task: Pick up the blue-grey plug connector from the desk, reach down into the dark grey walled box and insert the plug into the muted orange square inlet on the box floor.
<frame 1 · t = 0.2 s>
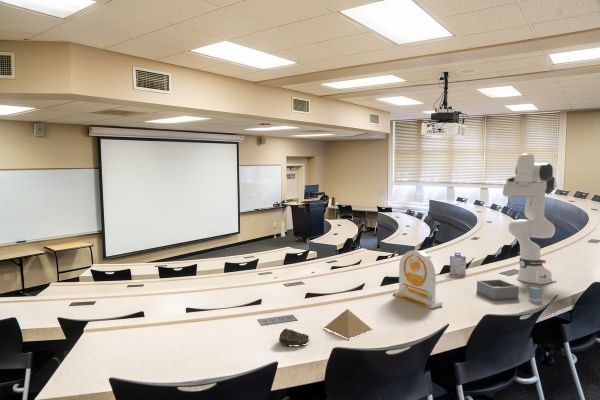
hand: (522, 204, 221), 52 cm above the table, tool tilted 20°, fingers open, 8 cm apart
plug: (534, 300, 215), on the table
model pyramid: (346, 330, 177), on the table
dark brown rock: (293, 344, 163), on the table
walled box: (497, 295, 223), on the table
award: (416, 300, 217), on the table
ink cartridge box: (457, 274, 272), on the table
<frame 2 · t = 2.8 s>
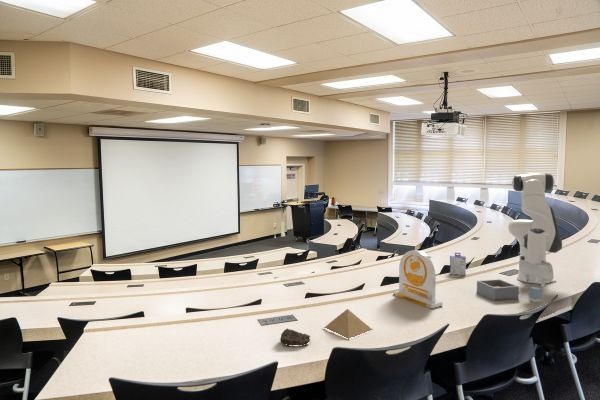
hand: (535, 284, 214), 9 cm above the table, tool pointing down, fingers open, 8 cm apart
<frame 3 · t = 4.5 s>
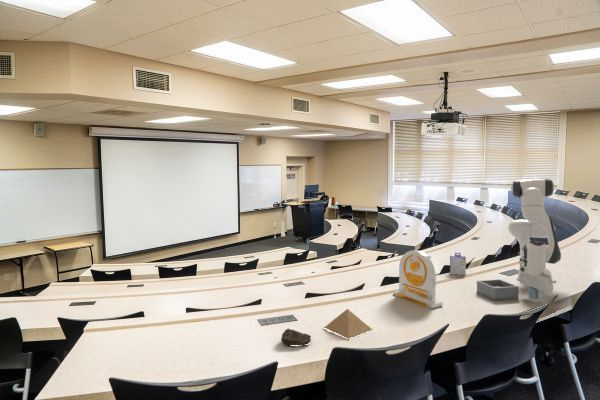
hand: (535, 295, 214), 3 cm above the table, tool pointing down, fingers closed on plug, 4 cm apart
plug: (534, 300, 215), on the table, touching gripper
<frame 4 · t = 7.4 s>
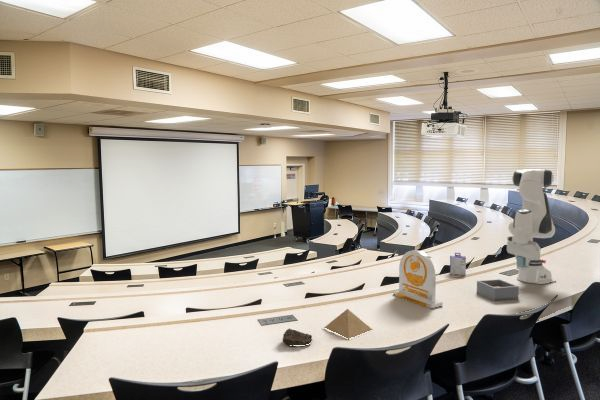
hand: (522, 264, 216), 19 cm above the table, tool pointing down, fingers closed on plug, 4 cm apart
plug: (522, 269, 216), point 17 cm above the table, touching gripper
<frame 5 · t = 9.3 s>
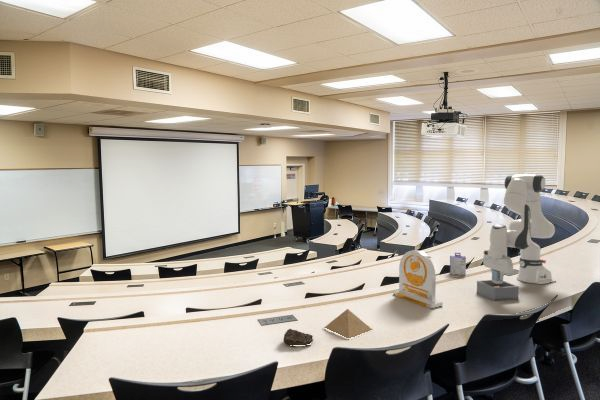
hand: (497, 278, 223), 10 cm above the table, tool pointing down, fingers closed on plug, 4 cm apart
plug: (497, 282, 223), point 8 cm above the table, touching gripper
when the fingers open (5 cm above the table, at t = 10.7 s): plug drops 1 cm, resting on walled box.
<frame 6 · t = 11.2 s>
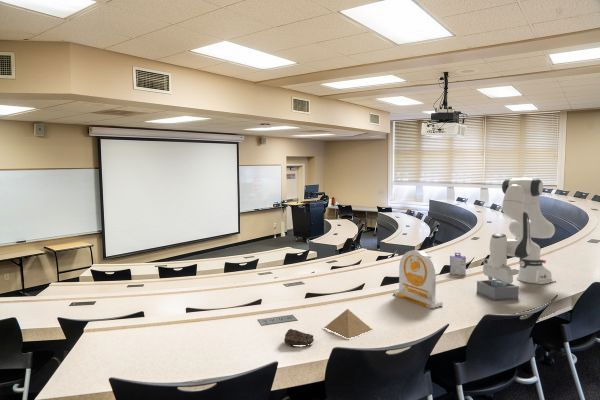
hand: (497, 286, 223), 5 cm above the table, tool pointing down, fingers open, 8 cm apart
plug: (497, 294, 223), point 1 cm above the table, touching walled box
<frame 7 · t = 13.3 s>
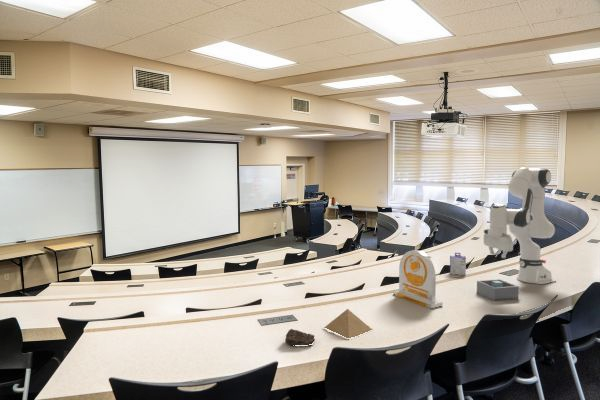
hand: (497, 255, 228), 21 cm above the table, tool pointing down, fingers open, 8 cm apart
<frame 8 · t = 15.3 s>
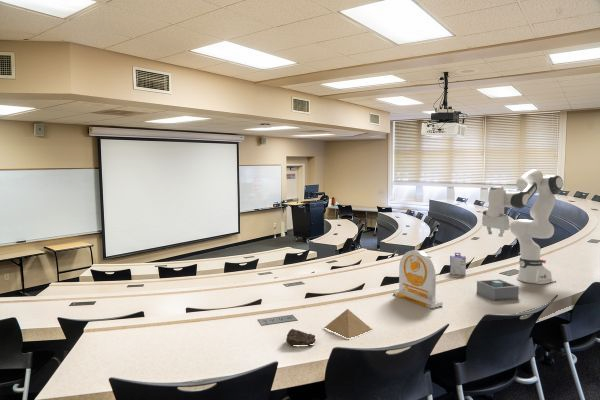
hand: (495, 235, 241), 31 cm above the table, tool pointing down, fingers open, 8 cm apart
at the end: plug 0.1 cm off-centre on the walled box, point 1.0 cm above the walled box's base; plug tilted 0°; the gripper is holding nothing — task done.
